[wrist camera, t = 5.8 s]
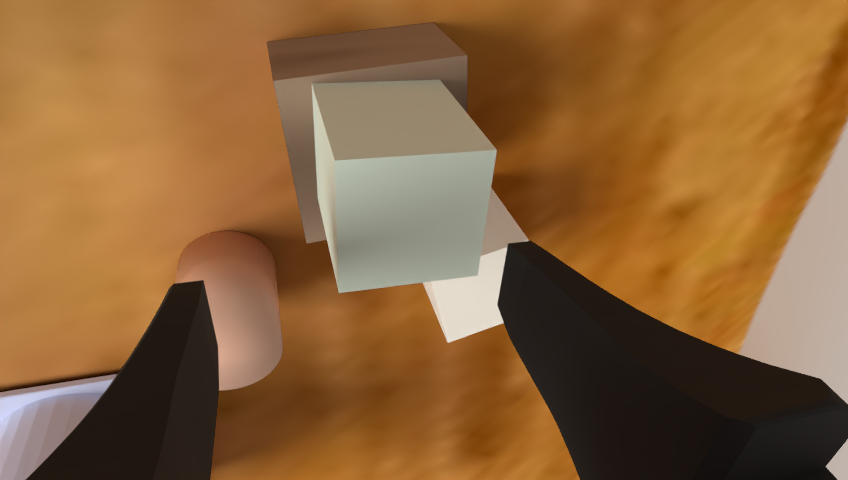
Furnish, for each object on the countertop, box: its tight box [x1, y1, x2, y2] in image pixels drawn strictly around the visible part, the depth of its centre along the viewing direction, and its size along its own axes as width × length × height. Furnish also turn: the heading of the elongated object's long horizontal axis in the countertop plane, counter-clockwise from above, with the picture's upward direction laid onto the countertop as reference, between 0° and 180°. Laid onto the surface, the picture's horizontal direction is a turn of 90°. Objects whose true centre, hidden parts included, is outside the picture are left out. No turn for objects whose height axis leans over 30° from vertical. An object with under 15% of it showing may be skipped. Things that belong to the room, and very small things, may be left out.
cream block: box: [423, 188, 529, 343], centre depth 24 cm, size 4×4×5 cm
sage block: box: [312, 80, 497, 293], centre depth 16 cm, size 4×4×5 cm
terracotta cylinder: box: [175, 231, 283, 390], centre depth 22 cm, size 4×4×5 cm
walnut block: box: [267, 22, 468, 243], centre depth 20 cm, size 6×6×4 cm
